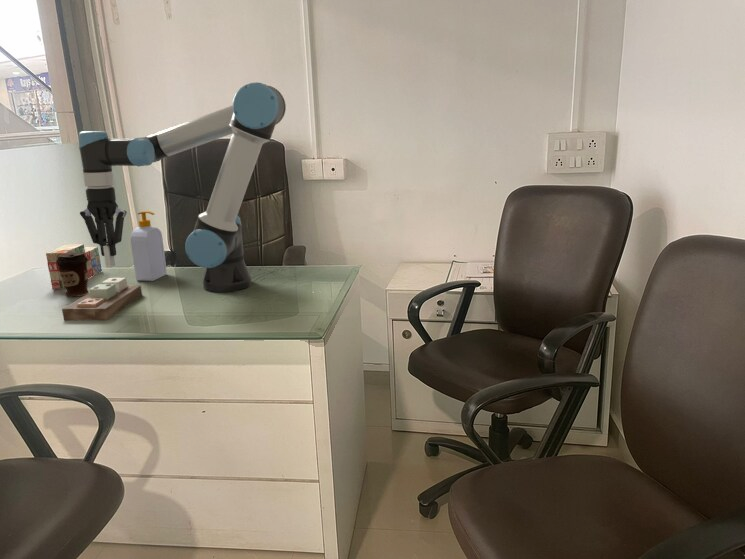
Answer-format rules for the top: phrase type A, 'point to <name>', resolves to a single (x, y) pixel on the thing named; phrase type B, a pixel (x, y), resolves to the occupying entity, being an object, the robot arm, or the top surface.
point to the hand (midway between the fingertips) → (110, 266)
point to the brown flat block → (102, 305)
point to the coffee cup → (73, 273)
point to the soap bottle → (148, 251)
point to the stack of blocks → (89, 252)
